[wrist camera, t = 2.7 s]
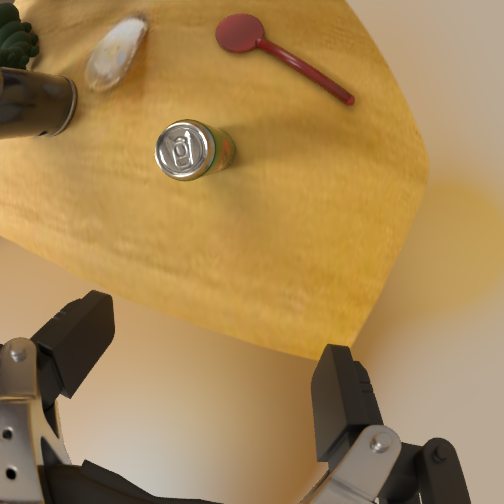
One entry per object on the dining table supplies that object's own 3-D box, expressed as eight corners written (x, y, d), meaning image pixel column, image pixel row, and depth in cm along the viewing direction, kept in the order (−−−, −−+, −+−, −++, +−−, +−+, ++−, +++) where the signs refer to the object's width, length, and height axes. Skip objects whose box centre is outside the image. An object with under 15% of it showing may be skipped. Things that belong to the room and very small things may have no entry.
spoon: (207, 41, 26) (204, 37, 25) (234, 10, 24) (232, 5, 23) (339, 121, 29) (341, 120, 27) (364, 88, 27) (367, 85, 26)
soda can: (229, 123, 30) (203, 108, 19) (240, 165, 31) (220, 172, 20) (188, 136, 31) (143, 131, 19) (199, 176, 32) (160, 190, 21)
